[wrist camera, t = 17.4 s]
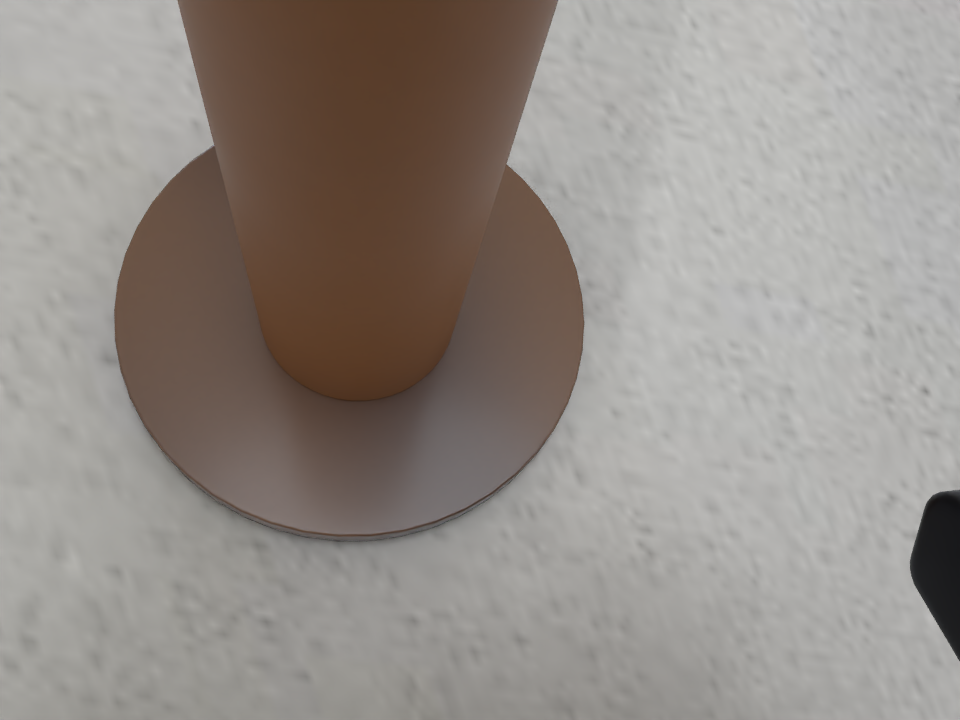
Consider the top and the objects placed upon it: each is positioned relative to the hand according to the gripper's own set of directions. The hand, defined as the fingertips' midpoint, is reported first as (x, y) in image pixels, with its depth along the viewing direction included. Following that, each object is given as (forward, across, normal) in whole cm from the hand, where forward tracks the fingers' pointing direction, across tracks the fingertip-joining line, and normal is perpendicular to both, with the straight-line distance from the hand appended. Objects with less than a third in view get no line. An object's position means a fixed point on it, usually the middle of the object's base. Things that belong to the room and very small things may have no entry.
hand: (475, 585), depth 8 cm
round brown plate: (+16, 0, +4) cm, 16 cm away
